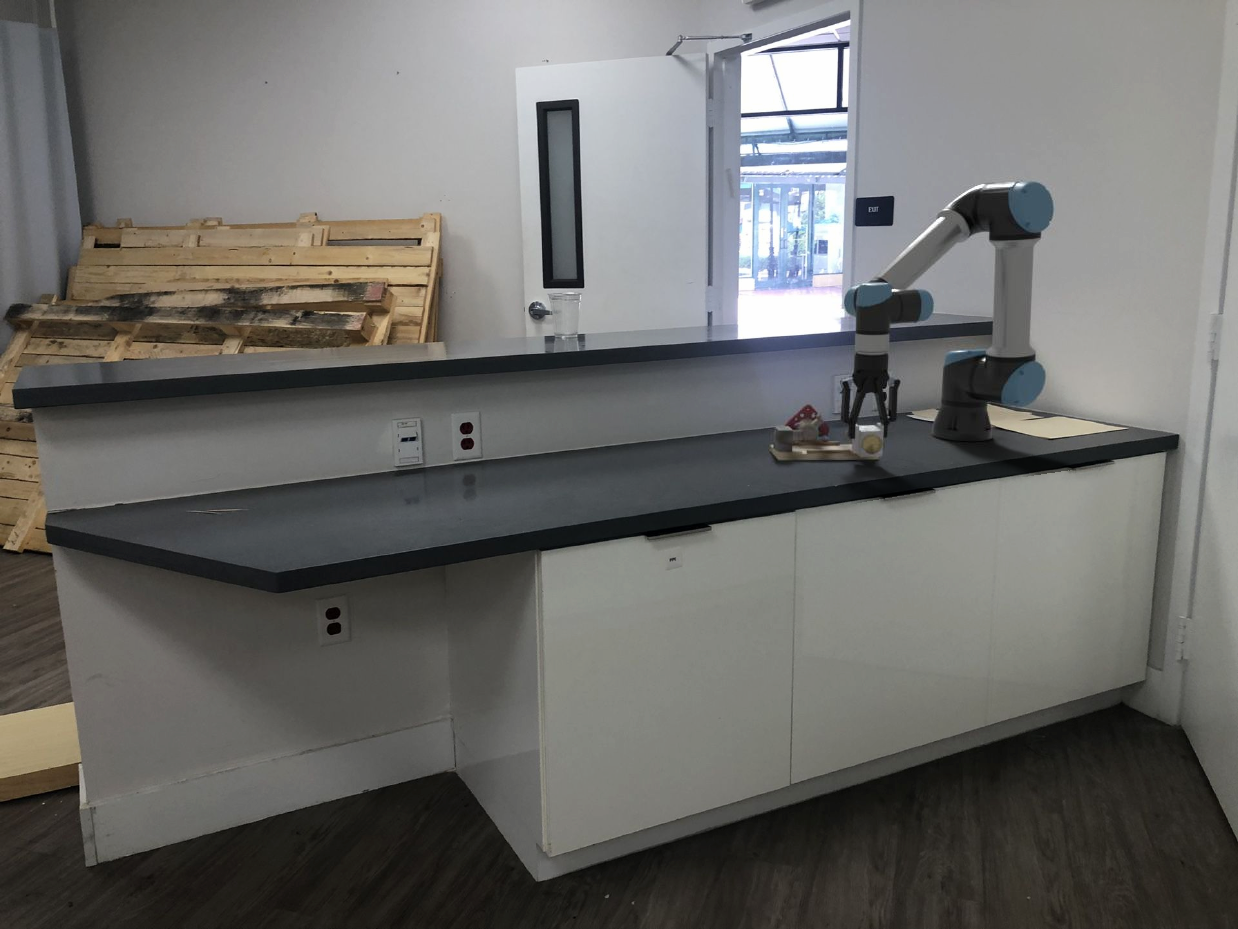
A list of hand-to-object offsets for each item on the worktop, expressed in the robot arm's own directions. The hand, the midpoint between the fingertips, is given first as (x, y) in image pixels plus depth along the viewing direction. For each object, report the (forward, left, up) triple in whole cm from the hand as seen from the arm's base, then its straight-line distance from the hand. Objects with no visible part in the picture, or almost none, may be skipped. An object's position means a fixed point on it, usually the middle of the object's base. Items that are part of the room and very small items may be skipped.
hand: (867, 451), depth 225 cm
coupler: (0, 0, 0) cm, 0 cm away
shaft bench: (+8, -10, -3) cm, 13 cm away
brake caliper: (+10, -19, -4) cm, 21 cm away
